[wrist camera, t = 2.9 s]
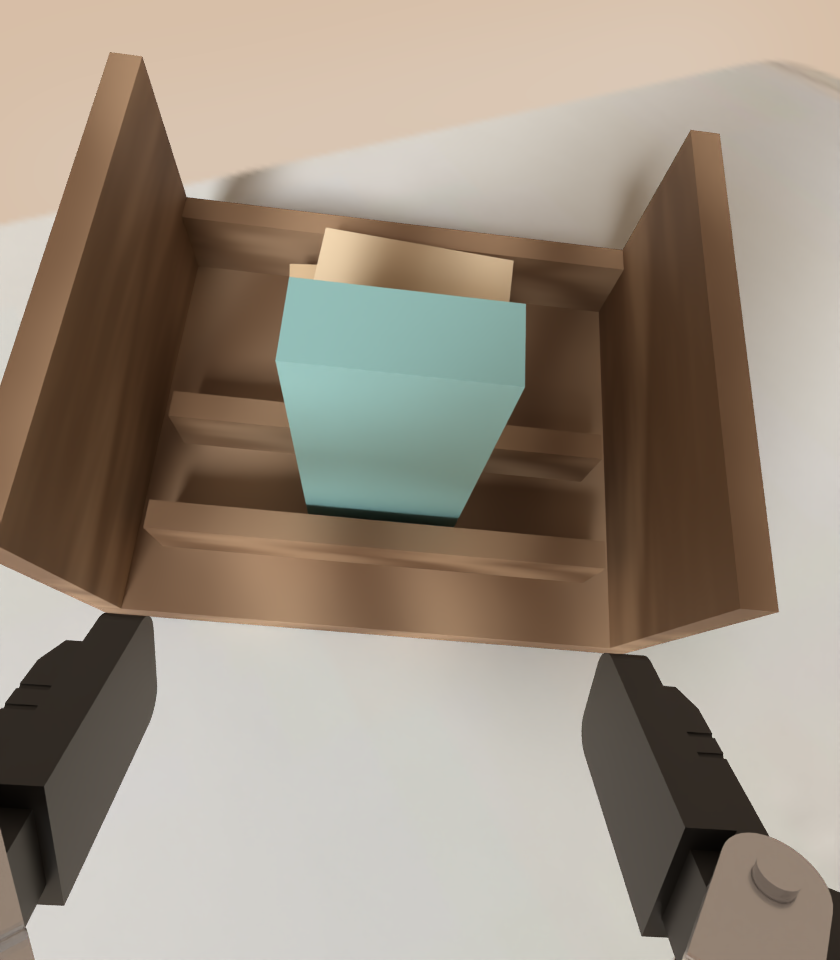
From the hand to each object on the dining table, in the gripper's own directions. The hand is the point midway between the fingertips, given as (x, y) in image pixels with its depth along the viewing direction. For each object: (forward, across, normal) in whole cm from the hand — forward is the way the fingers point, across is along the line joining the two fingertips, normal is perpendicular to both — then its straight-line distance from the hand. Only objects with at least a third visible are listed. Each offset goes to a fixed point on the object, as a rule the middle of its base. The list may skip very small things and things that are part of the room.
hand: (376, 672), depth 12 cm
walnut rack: (+17, 0, +2) cm, 17 cm away
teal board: (+14, 0, +4) cm, 14 cm away
